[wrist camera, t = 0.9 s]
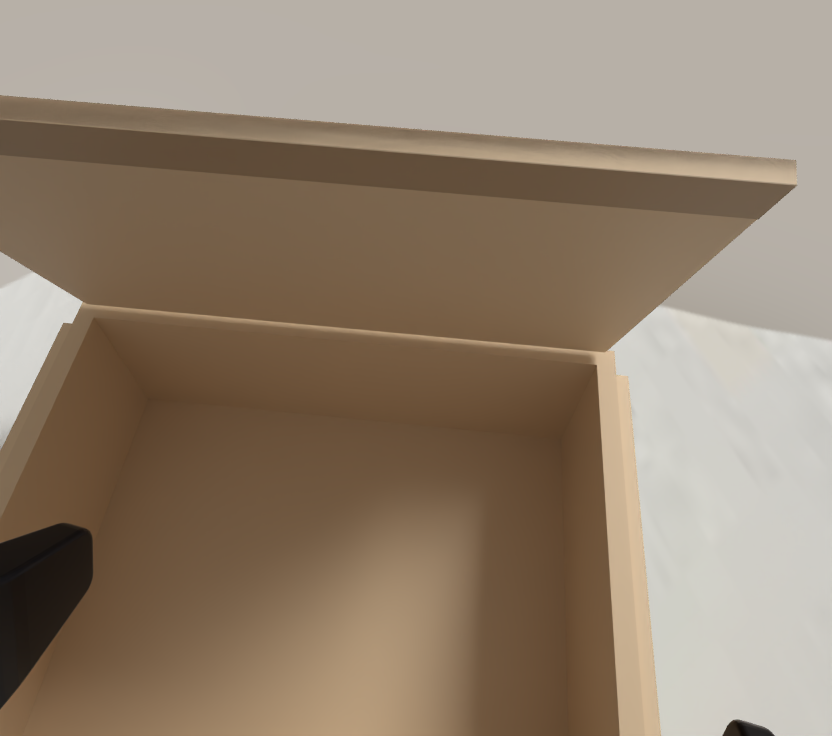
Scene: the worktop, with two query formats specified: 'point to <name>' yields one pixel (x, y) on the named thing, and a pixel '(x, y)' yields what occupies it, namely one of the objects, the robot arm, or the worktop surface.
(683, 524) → the worktop surface
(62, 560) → the robot arm
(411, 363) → the carton
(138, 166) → the carton flap
